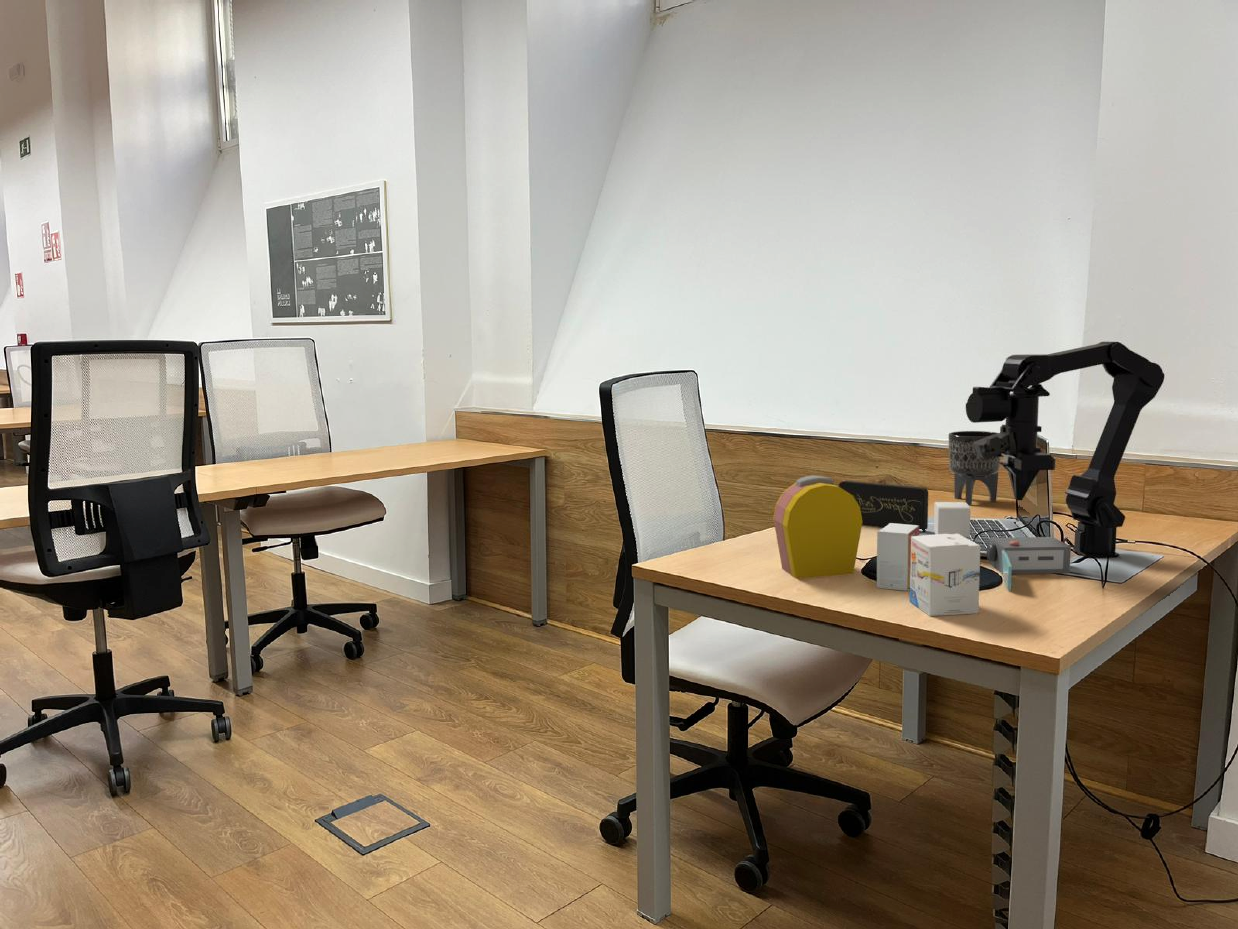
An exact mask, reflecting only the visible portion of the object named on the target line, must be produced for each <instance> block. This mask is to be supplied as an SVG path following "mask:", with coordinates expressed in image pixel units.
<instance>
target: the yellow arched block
mask: <svg viewBox="0 0 1238 929" xmlns="http://www.w3.org/2000/svg"><path fill="white" fill-rule="evenodd" d="M772 521H773V524H774V529H775V535H776V542H777V548H778V553H779V558H780V563H781V569H782V570H784V571H785V572H786V573H788V574H789V575H790V576H791V577H793V578H794V579H796V580H797V579H811V578H822V577H825V578H826V577H835V576H849V575H850V576H851V575H854V571H855V566H856V562H857V555H858V551H859V545H860V544H859V543H860V538H861V532H862V527H863V525H862V516H861V511H860V507H859V505H858V504H857V502H856V500H855V499H854V497H853V496H852V495H851V494H850V493H848V492H846V491H845V490H843V489H842V488H840V487H839V485H836V484H835V480H834V479H833V478H830V477H826V476H824V475H813V474H811V475H806V476H802V477H800V478H798V479H796V480H795V482H794V483H793V484H792V485H790V486H789V487H788V488H785V490H784V491H782V493H781V495H780V497H779V498H778V500H777V502H776V504H775V506H774V512H773V517H772Z"/></svg>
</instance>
